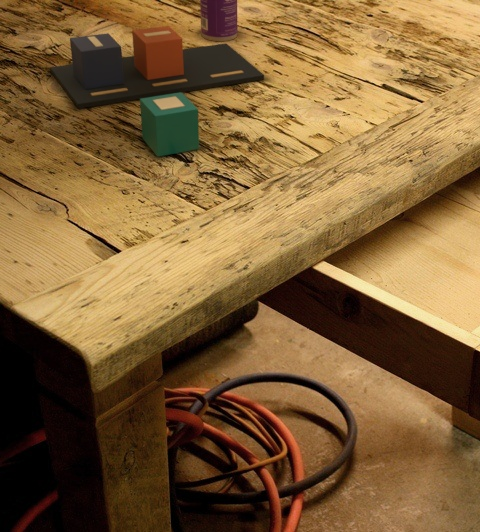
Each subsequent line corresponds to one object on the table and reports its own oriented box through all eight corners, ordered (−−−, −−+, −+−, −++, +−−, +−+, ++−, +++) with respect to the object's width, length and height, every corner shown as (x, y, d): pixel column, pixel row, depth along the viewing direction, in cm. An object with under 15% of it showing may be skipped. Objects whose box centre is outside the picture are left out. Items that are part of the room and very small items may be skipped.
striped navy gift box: (85, 89, 102) (81, 50, 100) (73, 75, 105) (69, 36, 103) (124, 84, 104) (121, 45, 102) (111, 69, 107) (108, 32, 105)
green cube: (157, 157, 91) (155, 115, 89) (142, 138, 94) (139, 97, 92) (199, 149, 93) (198, 107, 91) (183, 131, 96) (181, 91, 94)
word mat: (78, 109, 99) (77, 102, 99) (50, 71, 107) (49, 66, 107) (264, 79, 109) (264, 74, 109) (226, 47, 117) (226, 42, 116)
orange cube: (147, 80, 105) (145, 42, 103) (134, 66, 108) (131, 29, 106) (184, 74, 107) (182, 37, 105) (170, 61, 110) (168, 24, 108)
